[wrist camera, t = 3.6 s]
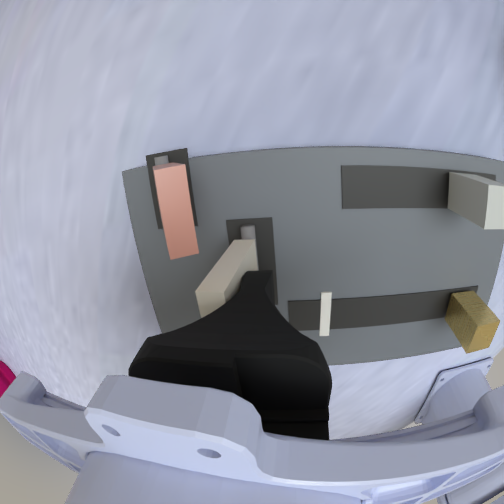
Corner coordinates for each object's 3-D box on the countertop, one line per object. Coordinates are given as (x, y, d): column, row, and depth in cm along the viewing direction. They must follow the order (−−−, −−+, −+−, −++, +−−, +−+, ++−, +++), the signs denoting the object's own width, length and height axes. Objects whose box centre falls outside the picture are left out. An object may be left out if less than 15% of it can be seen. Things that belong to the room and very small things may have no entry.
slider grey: (472, 208, 12) (509, 229, 8) (447, 208, 12) (483, 229, 9) (475, 174, 11) (514, 188, 8) (449, 171, 11) (488, 184, 8)
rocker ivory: (266, 304, 16) (240, 383, 10) (249, 304, 16) (217, 380, 11) (258, 223, 14) (221, 281, 9) (239, 224, 14) (193, 280, 9)
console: (458, 322, 18) (473, 344, 16) (184, 337, 22) (171, 362, 19) (486, 149, 13) (512, 154, 10) (144, 156, 17) (119, 161, 14)
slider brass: (465, 315, 14) (488, 347, 11) (444, 319, 15) (466, 353, 11) (473, 290, 14) (500, 320, 10) (451, 293, 14) (477, 326, 11)
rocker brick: (180, 224, 15) (200, 264, 9) (163, 227, 14) (173, 270, 9) (170, 154, 13) (183, 151, 8) (151, 158, 13) (152, 157, 8)
